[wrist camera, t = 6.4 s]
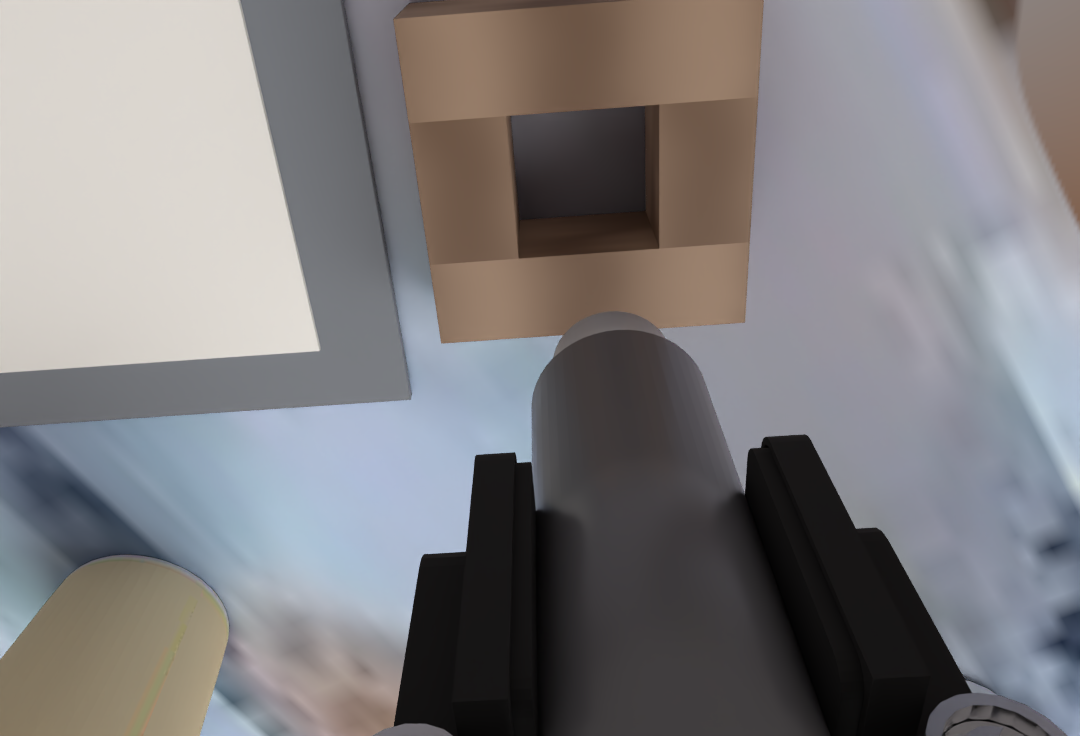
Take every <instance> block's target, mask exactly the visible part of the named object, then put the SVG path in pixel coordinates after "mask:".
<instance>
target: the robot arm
mask: <svg viewBox="0 0 1080 736" xmlns="http://www.w3.org/2000/svg"><path fill="white" fill-rule="evenodd" d="M745 497H746V499H747V502H748V505H749V508H750V511H751V513H752V516H753V519H754V522H755V525H756V527H757V530H758V533H759V536H760V539H761V542H762V544H763V547H764V550H765V553H766V556H767V558H768V561H769V564H770V567H771V570H772V572H773V575H774V578H775V581H776V584H777V586H778V589H779V592H780V595H781V598H782V600H783V603H784V606H785V609H786V612H787V614H788V617H789V620H790V623H791V626H792V628H793V631H794V634H795V637H796V640H797V642H798V645H799V648H800V651H801V654H802V657H803V659H804V662H805V665H806V668H807V671H808V673H809V676H810V679H811V682H812V685H813V687H814V690H815V693H816V696H817V699H818V701H819V704H820V707H821V710H822V713H823V715H824V718H825V721H826V724H827V727H828V729H829V732H830V735H831V736H1067V735H1066V734H1065V733H1064V732H1063V731H1062V730H1061V729H1059V728H1058V727H1057V726H1056V725H1055V724H1054V723H1053V722H1052V721H1050V720H1049V719H1048V718H1047V717H1045V716H1043V715H1042V714H1040V713H1038V712H1037V711H1035V710H1033V709H1032V708H1030V707H1028V706H1027V705H1025V704H1022V703H1019V702H1017V701H1014V700H1011V699H1008V698H1005V697H1003V696H999V695H996V694H995V693H993V692H992V691H990V690H989V689H987V688H985V687H983V686H980V685H978V684H975V683H973V682H971V681H967V680H965V679H964V677H963V675H962V673H961V672H960V670H959V668H958V666H957V664H956V663H955V661H954V659H953V657H952V655H951V653H950V652H949V650H948V648H947V646H946V644H945V643H944V641H943V639H942V637H941V635H940V633H939V632H938V630H937V628H936V626H935V624H934V623H933V621H932V619H931V617H930V615H929V613H928V612H927V610H926V608H925V606H924V604H923V603H922V601H921V599H920V597H919V595H918V593H917V592H916V590H915V588H914V586H913V584H912V583H911V581H910V579H909V577H908V575H907V573H906V572H905V570H904V568H903V566H902V564H901V563H900V561H899V559H898V557H897V555H896V553H895V552H894V550H893V548H892V546H891V544H890V543H889V541H888V539H887V538H886V536H885V535H884V534H883V532H882V531H881V530H879V529H877V528H861V529H856V528H855V526H854V524H853V522H852V520H851V518H850V516H849V514H848V512H847V510H846V508H845V506H844V505H843V503H842V501H841V499H840V497H839V495H838V493H837V491H836V489H835V487H834V485H833V483H832V481H831V479H830V477H829V475H828V473H827V471H826V469H825V467H824V465H823V463H822V461H821V459H820V457H819V455H818V453H817V451H816V450H815V448H814V446H813V444H812V442H811V440H810V438H809V437H808V436H807V435H790V436H774V437H765V438H764V439H763V441H762V445H761V448H751V449H750V450H749V452H748V460H747V474H746V489H745ZM373 736H538V648H537V561H536V506H535V495H534V484H533V473H532V464H531V462H525V463H517V459H516V454H515V453H499V454H483V455H476V456H475V463H474V474H473V484H472V495H471V505H470V516H469V527H468V537H467V548H466V552H456V553H439V554H424V555H423V557H422V558H421V562H420V567H419V573H418V579H417V585H416V591H415V597H414V604H413V610H412V616H411V622H410V629H409V635H408V641H407V647H406V653H405V660H404V666H403V672H402V678H401V684H400V691H399V697H398V703H397V709H396V715H395V722H394V727H391V728H387V729H384V730H382V731H380V732H378V733H377V734H375V735H373Z"/></svg>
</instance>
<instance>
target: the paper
mask: <svg viewBox="0 0 1080 736" xmlns="http://www.w3.org/2000/svg"><path fill="white" fill-rule="evenodd" d="M320 349H321V347H320V343H319V339H318V334H317V330H316V326H315V321H314V317H313V313H312V308H311V304H310V300H309V295H308V291H307V287H306V282H305V278H304V274H303V269H302V265H301V261H300V256H299V252H298V248H297V243H296V239H295V235H294V230H293V226H292V222H291V217H290V213H289V209H288V204H287V200H286V196H285V192H284V187H283V183H282V179H281V174H280V170H279V166H278V161H277V157H276V153H275V148H274V144H273V140H272V135H271V131H270V127H269V122H268V118H267V114H266V109H265V105H264V101H263V96H262V92H261V88H260V83H259V79H258V75H257V70H256V66H255V62H254V57H253V53H252V49H251V44H250V40H249V36H248V31H247V27H246V23H245V18H244V14H243V10H242V5H241V1H240V0H0V373H8V372H23V371H37V370H52V369H66V368H81V367H95V366H110V365H124V364H139V363H153V362H168V361H182V360H197V359H212V358H226V357H241V356H255V355H270V354H284V353H299V352H313V351H320Z"/></svg>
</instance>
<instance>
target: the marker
mask: <svg viewBox="0 0 1080 736" xmlns="http://www.w3.org/2000/svg"><path fill="white" fill-rule="evenodd" d="M532 473H533V484H534V495H535V506H536V561H537V648H538V736H831V735H830V732H829V729H828V727H827V724H826V721H825V718H824V715H823V713H822V710H821V707H820V704H819V701H818V699H817V696H816V693H815V690H814V687H813V685H812V682H811V679H810V676H809V673H808V671H807V668H806V665H805V662H804V659H803V657H802V654H801V651H800V648H799V645H798V642H797V640H796V637H795V634H794V631H793V628H792V626H791V623H790V620H789V617H788V614H787V612H786V609H785V606H784V603H783V600H782V598H781V595H780V592H779V589H778V586H777V584H776V581H775V578H774V575H773V572H772V570H771V567H770V564H769V561H768V558H767V556H766V553H765V550H764V547H763V544H762V542H761V539H760V536H759V533H758V530H757V527H756V525H755V522H754V519H753V516H752V513H751V511H750V508H749V505H748V502H747V499H746V497H745V493H744V491H743V488H742V485H741V482H740V479H739V477H738V474H737V471H736V468H735V465H734V463H733V460H732V457H731V454H730V451H729V449H728V446H727V443H726V440H725V437H724V435H723V432H722V429H721V426H720V423H719V421H718V418H717V415H716V412H715V409H714V407H713V404H712V401H711V398H710V395H709V393H708V390H707V387H706V384H705V381H704V379H703V376H702V373H701V372H700V370H699V368H698V366H697V365H696V363H695V362H694V361H693V359H692V358H691V357H690V356H689V355H688V354H687V353H686V352H685V351H684V350H683V349H681V348H680V347H679V346H677V345H676V344H674V343H673V342H671V341H669V340H667V339H665V337H664V336H663V334H662V333H661V332H660V330H659V329H658V328H657V327H656V326H655V325H654V324H652V323H651V322H649V321H648V320H646V319H644V318H642V317H640V316H638V315H635V314H632V313H627V312H620V311H609V312H602V313H598V314H594V315H591V316H589V317H586V318H584V319H582V320H580V321H579V322H577V323H576V324H575V325H573V326H572V327H571V328H570V329H569V330H568V331H567V332H566V333H565V334H564V335H563V337H562V338H561V340H560V341H559V343H558V345H557V347H556V350H555V353H554V358H553V359H552V360H551V361H550V362H549V364H548V365H547V366H546V367H545V369H544V370H543V372H542V373H541V375H540V377H539V379H538V381H537V383H536V386H535V389H534V392H533V398H532Z"/></svg>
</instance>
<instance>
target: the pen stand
mask: <svg viewBox="0 0 1080 736" xmlns="http://www.w3.org/2000/svg"><path fill="white" fill-rule="evenodd" d="M763 2H764V0H444V1H432V2H419V3H409V4H408V5H407V6H406V7H405V8H404V9H403V10H402V11H401V12H400V13H399V14H398V15H397V16H396V17H395V18H394V19H393V20H394V27H395V34H396V40H397V47H398V54H399V61H400V67H401V74H402V81H403V88H404V94H405V101H406V108H407V115H408V121H409V128H410V135H411V142H412V149H413V155H414V162H415V169H416V176H417V182H418V189H419V196H420V203H421V209H422V216H423V223H424V230H425V236H426V243H427V250H428V257H429V263H430V270H431V277H432V284H433V290H434V297H435V304H436V311H437V317H438V324H439V331H440V338H441V343H454V342H469V341H483V340H498V339H513V338H527V337H542V336H556V335H564V334H565V333H566V332H567V331H568V330H569V329H570V328H571V327H572V326H573V325H575V324H576V323H577V322H579V321H580V320H582V319H584V318H586V317H589V316H591V315H594V314H598V313H602V312H609V311H620V312H627V313H632V314H635V315H638V316H640V317H642V318H644V319H646V320H648V321H649V322H651V323H652V324H654V325H655V326H656V327H657V328H672V327H687V326H701V325H716V324H730V323H745V313H746V296H747V278H748V261H749V244H750V227H751V209H752V192H753V175H754V158H755V140H756V123H757V106H758V89H759V71H760V54H761V37H762V20H763ZM633 106H645V186H646V211H637V212H623V213H609V214H595V215H581V216H568V217H554V218H540V219H526V220H520V218H519V207H518V195H517V184H516V172H515V161H514V150H513V138H512V127H511V116H514V115H527V114H541V113H554V112H567V111H580V110H594V109H607V108H620V107H633Z"/></svg>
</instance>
